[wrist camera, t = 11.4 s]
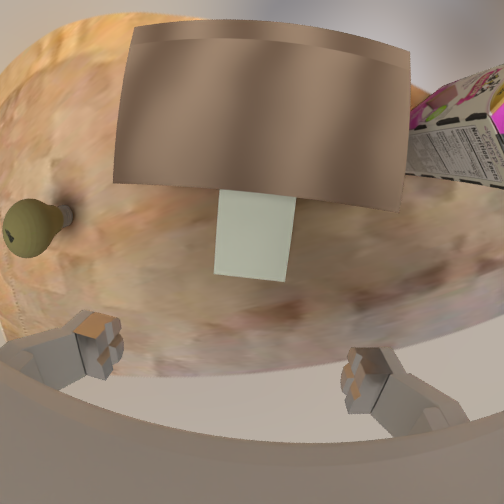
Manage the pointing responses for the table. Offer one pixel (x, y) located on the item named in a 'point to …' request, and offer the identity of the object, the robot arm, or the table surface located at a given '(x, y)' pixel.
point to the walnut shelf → (265, 111)
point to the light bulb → (33, 226)
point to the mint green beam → (253, 235)
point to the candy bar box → (461, 131)
